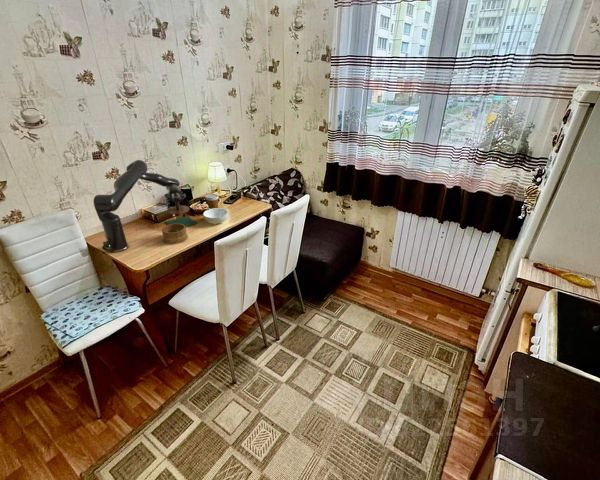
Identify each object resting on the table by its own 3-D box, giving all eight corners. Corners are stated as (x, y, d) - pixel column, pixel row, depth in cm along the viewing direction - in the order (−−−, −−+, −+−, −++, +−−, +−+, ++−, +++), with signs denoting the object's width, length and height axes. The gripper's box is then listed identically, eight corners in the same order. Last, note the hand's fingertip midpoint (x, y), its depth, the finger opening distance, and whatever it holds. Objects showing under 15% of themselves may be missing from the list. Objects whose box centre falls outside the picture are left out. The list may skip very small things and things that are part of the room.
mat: (174, 230, 203) (174, 229, 202) (165, 222, 213) (164, 221, 213) (196, 223, 212) (196, 223, 212) (186, 216, 222) (186, 215, 222)
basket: (164, 245, 185) (162, 234, 181) (163, 236, 195) (161, 225, 192) (188, 241, 190) (186, 230, 186) (185, 232, 200) (184, 222, 197)
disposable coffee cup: (220, 212, 229) (218, 197, 224) (206, 213, 228) (204, 198, 222) (220, 208, 238) (218, 193, 232) (207, 208, 236) (205, 194, 230)
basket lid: (168, 216, 200) (164, 202, 195) (166, 208, 211) (163, 194, 206) (191, 213, 205) (188, 199, 200) (188, 205, 217) (186, 192, 212)
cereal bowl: (200, 221, 216) (198, 211, 213) (221, 215, 226) (220, 206, 223) (211, 229, 205) (210, 219, 202) (233, 222, 215) (232, 213, 212)
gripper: (163, 188, 211) (164, 197, 197) (184, 186, 216) (187, 194, 203) (165, 199, 215) (166, 207, 201) (185, 196, 220) (188, 204, 206)
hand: (176, 201), depth 202 cm, fingers closed on basket lid, 2 cm apart
